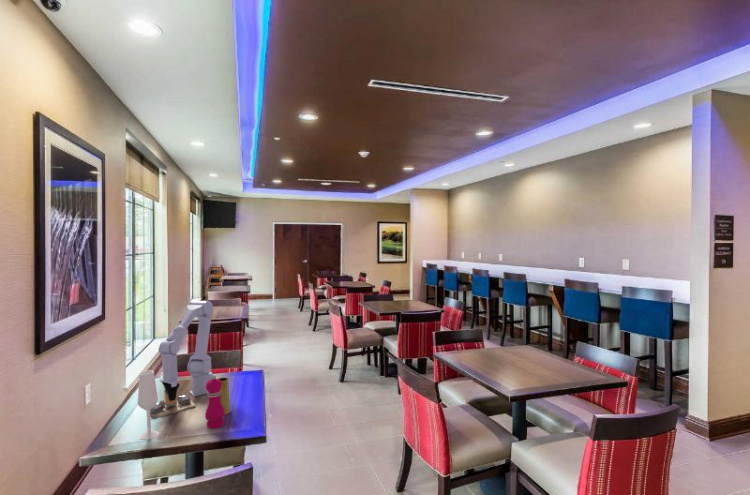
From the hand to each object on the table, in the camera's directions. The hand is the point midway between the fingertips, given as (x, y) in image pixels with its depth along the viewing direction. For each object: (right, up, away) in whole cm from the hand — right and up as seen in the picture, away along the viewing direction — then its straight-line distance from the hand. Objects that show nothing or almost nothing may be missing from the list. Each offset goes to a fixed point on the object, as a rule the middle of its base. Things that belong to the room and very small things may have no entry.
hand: (171, 398), depth 181 cm
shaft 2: (+4, -4, +3) cm, 7 cm away
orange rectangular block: (0, -2, 0) cm, 2 cm away
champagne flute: (+4, -5, -24) cm, 25 cm away
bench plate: (0, -4, 0) cm, 4 cm away
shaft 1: (-3, -5, -4) cm, 7 cm away
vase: (+25, -4, -6) cm, 26 cm away
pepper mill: (+26, -4, -17) cm, 31 cm away
